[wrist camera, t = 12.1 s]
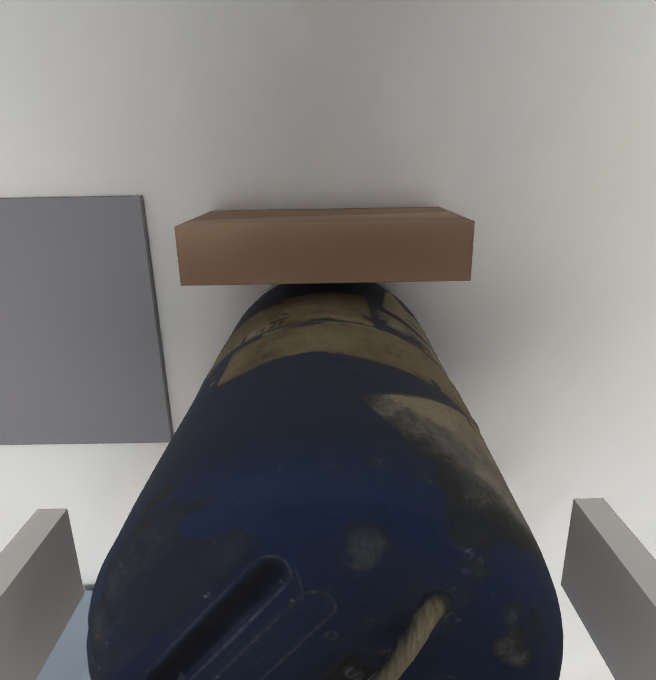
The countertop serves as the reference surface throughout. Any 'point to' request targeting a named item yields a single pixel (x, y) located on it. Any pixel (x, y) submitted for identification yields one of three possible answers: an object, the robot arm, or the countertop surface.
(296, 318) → the canister
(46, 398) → the mat
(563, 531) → the countertop surface
